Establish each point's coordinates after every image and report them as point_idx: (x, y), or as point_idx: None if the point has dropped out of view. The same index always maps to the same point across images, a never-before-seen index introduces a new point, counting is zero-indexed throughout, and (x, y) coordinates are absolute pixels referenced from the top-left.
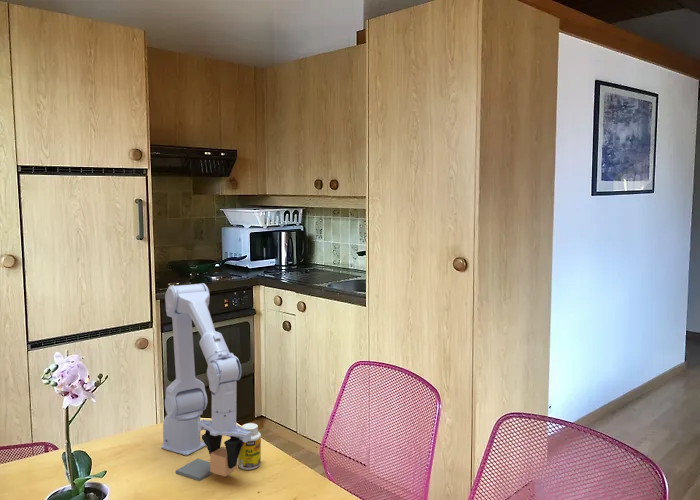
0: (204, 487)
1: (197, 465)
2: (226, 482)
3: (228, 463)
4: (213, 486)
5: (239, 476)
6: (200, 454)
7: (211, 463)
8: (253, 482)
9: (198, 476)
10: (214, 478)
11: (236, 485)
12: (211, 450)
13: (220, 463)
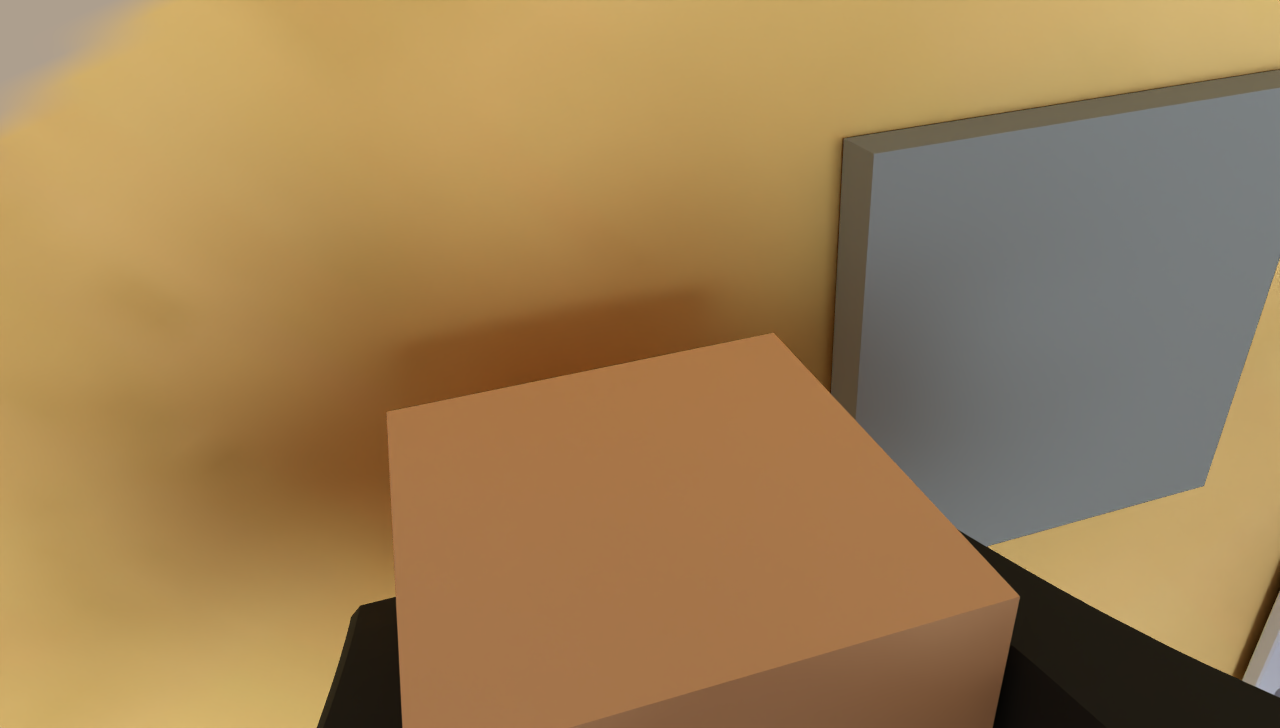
0: (614, 35)
1: (1115, 381)
2: (442, 395)
3: (387, 678)
4: (508, 169)
5: None
6: (1211, 564)
7: (825, 438)
8: (96, 662)
9: (914, 174)
10: None
11: (215, 445)
12: (1063, 695)
13: (558, 549)
